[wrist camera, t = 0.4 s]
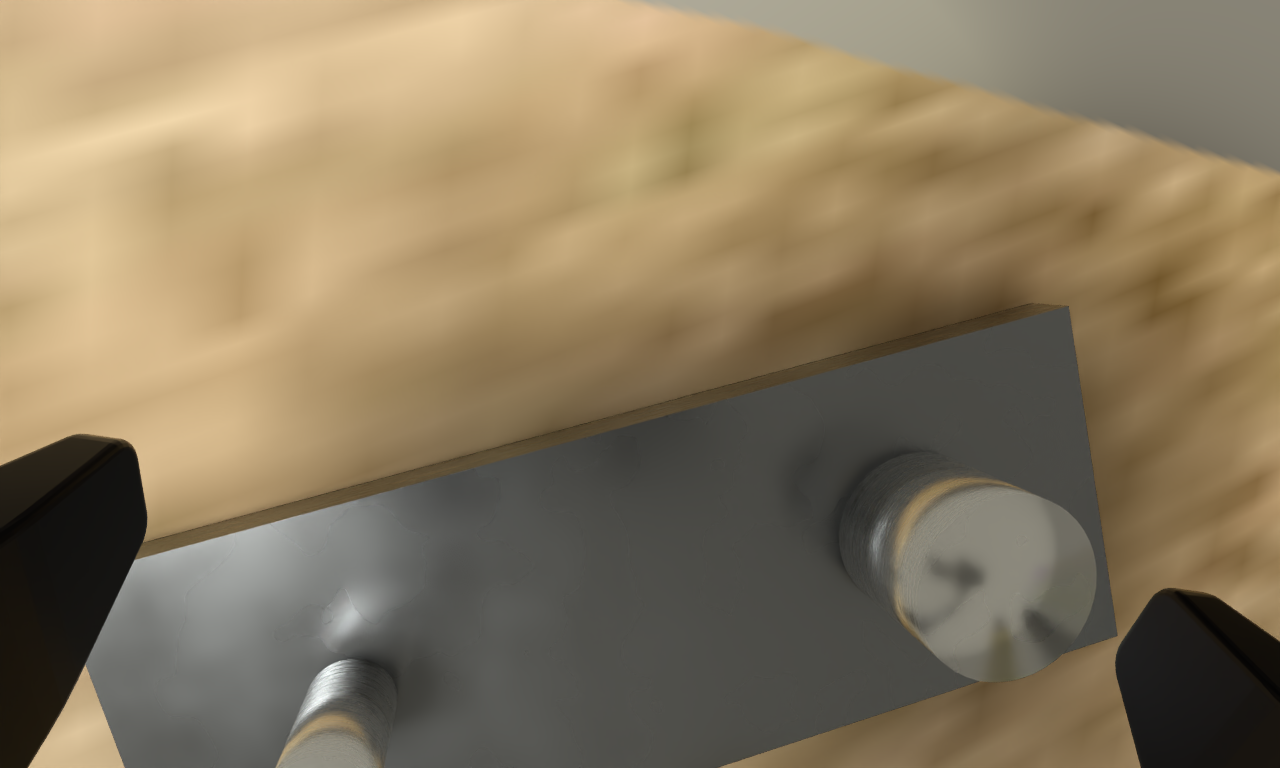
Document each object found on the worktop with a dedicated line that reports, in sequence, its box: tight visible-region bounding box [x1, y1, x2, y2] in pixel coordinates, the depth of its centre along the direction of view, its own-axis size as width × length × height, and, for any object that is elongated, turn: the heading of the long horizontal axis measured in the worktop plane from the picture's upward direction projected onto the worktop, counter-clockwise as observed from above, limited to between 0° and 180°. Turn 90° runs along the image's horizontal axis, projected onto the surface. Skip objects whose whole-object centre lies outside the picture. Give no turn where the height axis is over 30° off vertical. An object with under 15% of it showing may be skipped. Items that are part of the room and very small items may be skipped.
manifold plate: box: [86, 303, 1117, 768], centre depth 20 cm, size 9×24×6 cm, turn 104°
